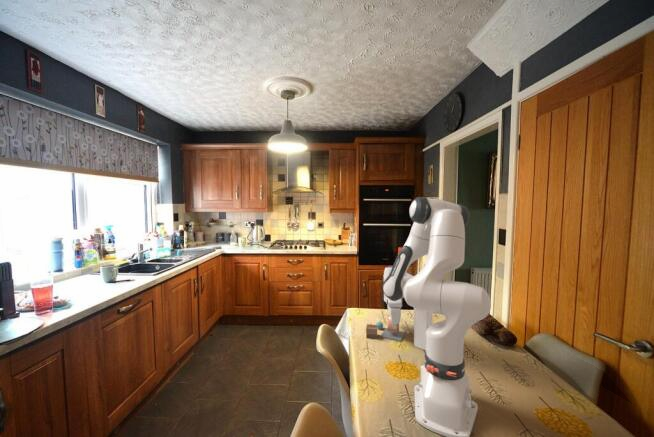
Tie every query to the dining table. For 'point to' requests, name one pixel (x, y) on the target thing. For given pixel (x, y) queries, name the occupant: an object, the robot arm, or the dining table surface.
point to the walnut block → (371, 331)
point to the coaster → (393, 335)
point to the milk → (421, 327)
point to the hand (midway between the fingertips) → (393, 324)
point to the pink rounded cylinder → (391, 326)
